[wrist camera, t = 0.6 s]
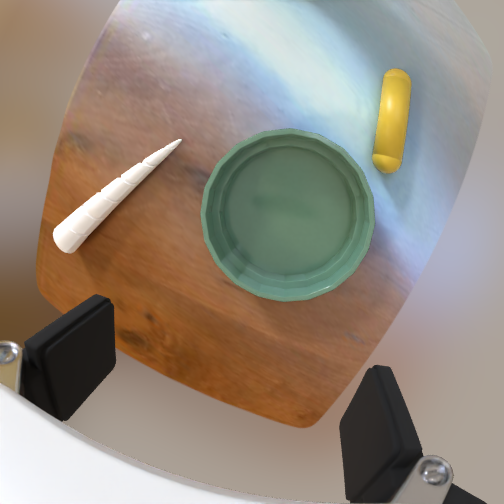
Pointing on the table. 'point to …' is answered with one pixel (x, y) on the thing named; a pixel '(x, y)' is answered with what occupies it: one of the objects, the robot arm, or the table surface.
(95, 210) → the unicorn horn
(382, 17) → the table surface
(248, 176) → the green round dish
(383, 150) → the yellow rounded capsule
